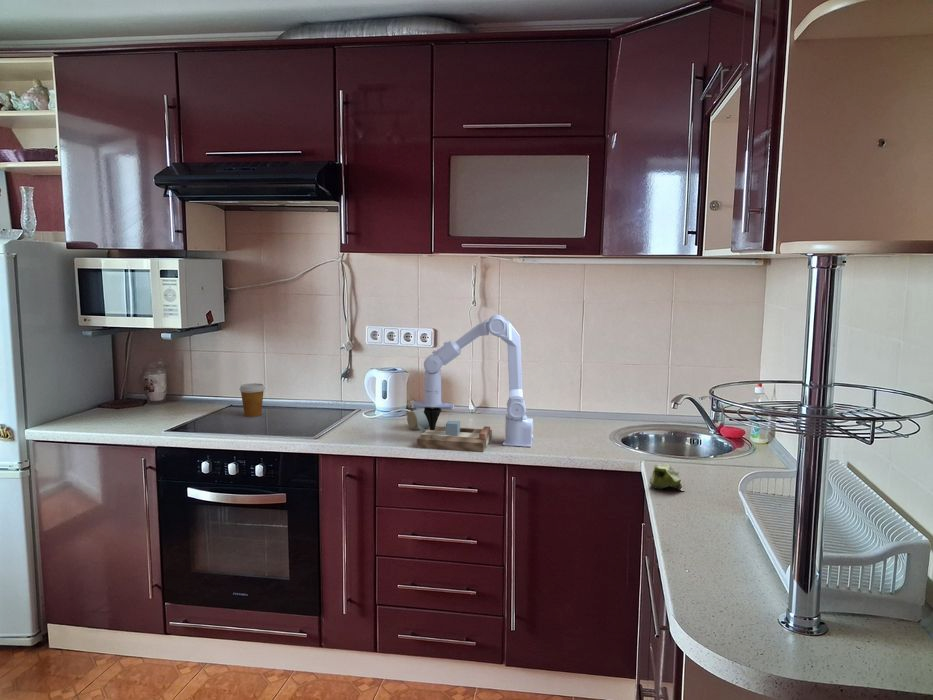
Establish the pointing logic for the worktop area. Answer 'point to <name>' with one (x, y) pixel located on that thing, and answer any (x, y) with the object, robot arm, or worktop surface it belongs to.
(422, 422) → the ceramic mug
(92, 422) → the worktop surface
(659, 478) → the fruit
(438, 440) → the trap board
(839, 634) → the worktop surface
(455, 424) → the block
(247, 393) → the disposable coffee cup
